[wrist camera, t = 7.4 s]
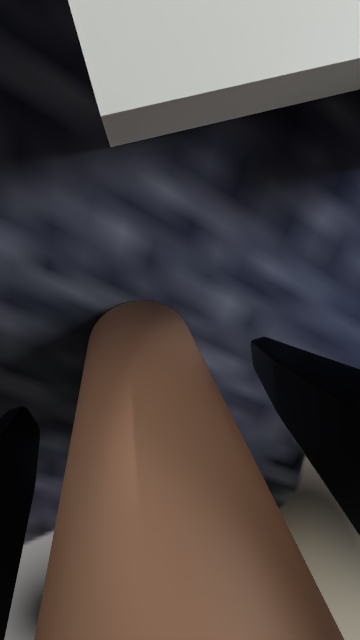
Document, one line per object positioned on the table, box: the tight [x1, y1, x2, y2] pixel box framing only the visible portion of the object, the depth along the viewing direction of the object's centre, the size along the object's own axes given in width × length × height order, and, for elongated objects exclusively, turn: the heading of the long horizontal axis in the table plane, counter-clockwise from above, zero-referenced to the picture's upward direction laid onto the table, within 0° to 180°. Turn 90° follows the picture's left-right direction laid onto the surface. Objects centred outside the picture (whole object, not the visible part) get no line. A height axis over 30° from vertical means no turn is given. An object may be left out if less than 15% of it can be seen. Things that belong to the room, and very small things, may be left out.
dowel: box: [35, 300, 344, 640], centre depth 7 cm, size 4×4×8 cm
